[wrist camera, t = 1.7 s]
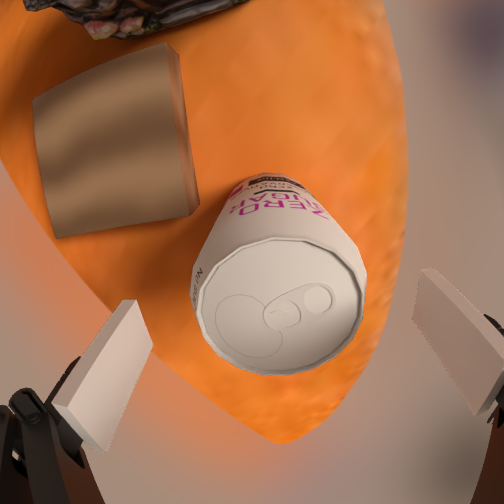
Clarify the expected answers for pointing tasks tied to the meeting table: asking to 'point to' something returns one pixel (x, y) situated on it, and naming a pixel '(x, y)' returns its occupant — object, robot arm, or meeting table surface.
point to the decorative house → (130, 14)
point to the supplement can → (277, 280)
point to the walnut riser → (116, 145)
